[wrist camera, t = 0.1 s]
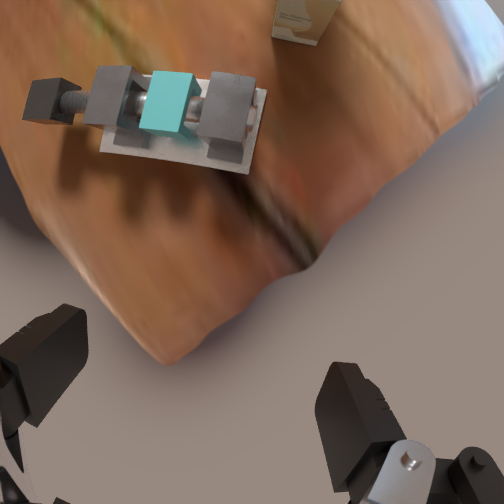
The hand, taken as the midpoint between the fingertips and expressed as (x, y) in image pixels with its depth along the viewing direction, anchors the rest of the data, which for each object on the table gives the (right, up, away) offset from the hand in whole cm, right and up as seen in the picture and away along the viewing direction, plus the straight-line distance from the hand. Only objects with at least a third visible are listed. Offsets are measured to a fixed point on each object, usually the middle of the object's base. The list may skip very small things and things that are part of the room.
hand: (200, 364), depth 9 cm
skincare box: (+8, +33, +23) cm, 41 cm away
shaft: (-12, +20, +21) cm, 31 cm away
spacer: (-6, +19, +21) cm, 29 cm away
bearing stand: (-7, +20, +25) cm, 33 cm away
